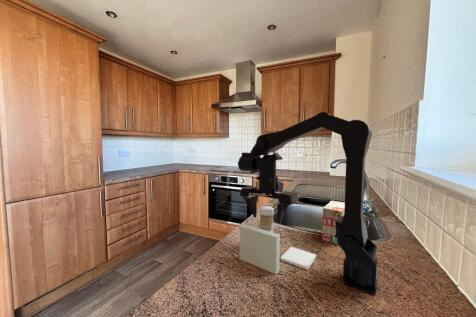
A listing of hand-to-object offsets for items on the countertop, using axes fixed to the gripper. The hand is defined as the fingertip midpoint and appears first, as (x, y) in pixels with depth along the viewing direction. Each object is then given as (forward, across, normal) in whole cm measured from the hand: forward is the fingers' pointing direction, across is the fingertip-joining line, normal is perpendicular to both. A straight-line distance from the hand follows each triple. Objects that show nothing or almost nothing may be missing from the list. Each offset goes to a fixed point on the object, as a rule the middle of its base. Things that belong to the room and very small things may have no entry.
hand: (266, 220), depth 65 cm
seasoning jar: (+10, 0, 0) cm, 10 cm away
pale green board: (+9, -3, +10) cm, 14 cm away
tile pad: (+9, -11, 0) cm, 14 cm away
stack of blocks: (+10, -17, -27) cm, 33 cm away
